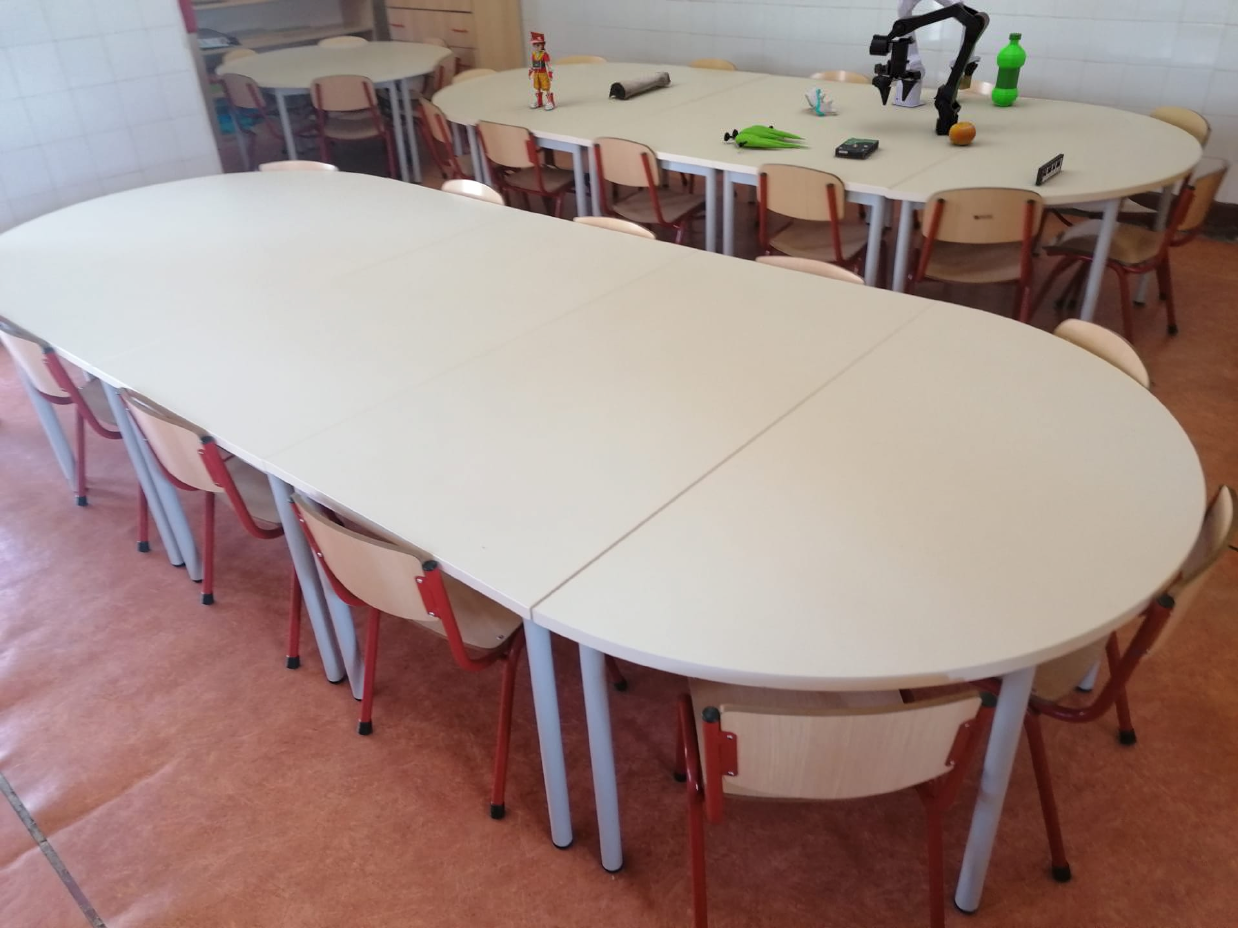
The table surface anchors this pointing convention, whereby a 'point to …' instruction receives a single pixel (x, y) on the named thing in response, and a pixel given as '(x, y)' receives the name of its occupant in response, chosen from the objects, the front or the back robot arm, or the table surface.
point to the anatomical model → (819, 102)
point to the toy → (541, 71)
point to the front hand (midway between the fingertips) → (893, 103)
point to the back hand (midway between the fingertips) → (961, 84)
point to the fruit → (962, 133)
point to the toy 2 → (761, 137)
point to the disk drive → (856, 148)
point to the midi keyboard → (1049, 169)
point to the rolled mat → (638, 84)
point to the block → (965, 82)
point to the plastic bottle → (1008, 71)
